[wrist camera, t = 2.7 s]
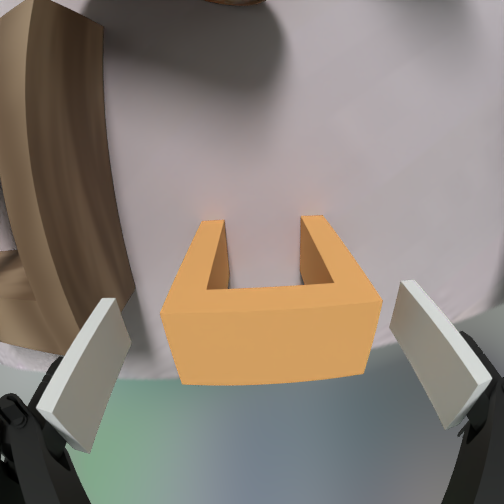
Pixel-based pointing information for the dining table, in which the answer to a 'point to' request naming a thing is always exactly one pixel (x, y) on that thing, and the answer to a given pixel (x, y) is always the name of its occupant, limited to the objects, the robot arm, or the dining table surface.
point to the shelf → (55, 179)
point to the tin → (237, 2)
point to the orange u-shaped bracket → (270, 315)
